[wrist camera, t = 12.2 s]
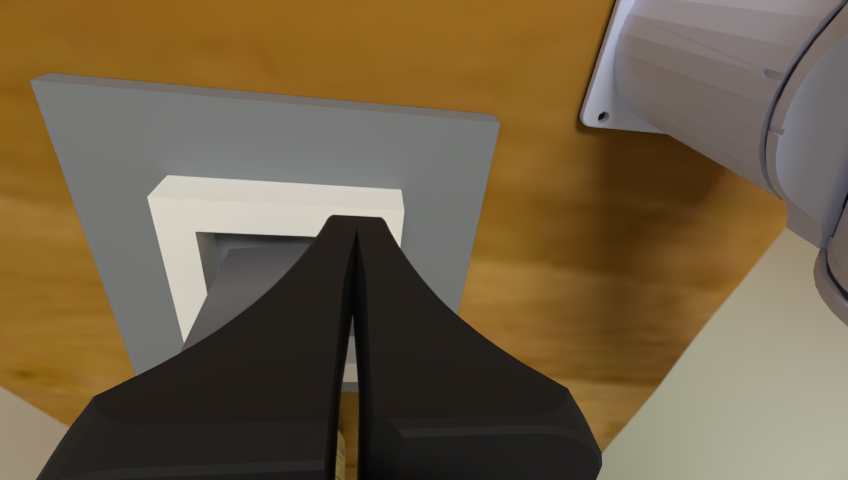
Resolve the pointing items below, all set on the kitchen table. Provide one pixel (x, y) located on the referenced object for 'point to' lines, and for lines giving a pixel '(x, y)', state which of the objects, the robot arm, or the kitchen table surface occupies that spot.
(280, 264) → the plug
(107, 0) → the kitchen table surface
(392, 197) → the socket
